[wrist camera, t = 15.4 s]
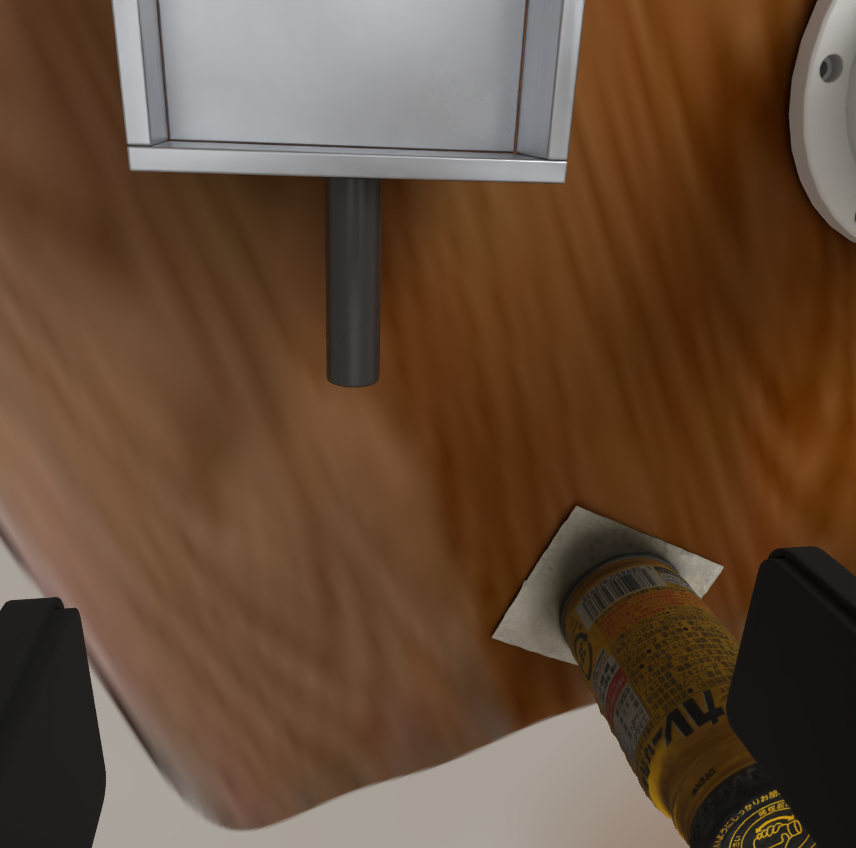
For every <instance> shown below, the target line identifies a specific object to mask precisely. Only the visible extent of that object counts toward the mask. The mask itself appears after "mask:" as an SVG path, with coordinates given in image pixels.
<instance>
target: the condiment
mask: <svg viewBox="0 0 856 848" xmlns="http://www.w3.org/2000/svg"><path fill="white" fill-rule="evenodd" d="M723 568H724V567H723V566H721V565H718V564H716V563H714V562H711V561H709V560H707V559H704V558H702V557H700V556H698V555H695V554H693V553H690V552H687V551H685V550H683V549H681V548H679V547H676V546H674V545H672V544H669V543H666V542H664V541H662V540H659V539H656V538H654V537H652V536H649V535H646V534H643V533H640V532H638V531H635V530H634V529H632V528H629V527H627V526H624V525H622V524H620V523H618V522H615V521H613V520H610V519H608V518H605V517H602V516H599V515H596V514H594V513H592V512H590V511H587V510H585V509H583V508H580V507H578V506H576V507H575V509H574V510H573V512H572V513H571V515H570V516H569V518H568V519H567V521H566V522H564V524H563V525H562V526H561V528H560V530H559V531H558V533H557V534H556V536H555V537H554V539H553V540H552V542H551V544H550V545H549V547H548V549H547V550H546V551H545V552H544V554H543V555H542V557H541V558H540V560H539V562H538V563H537V565H536V566H535V568H534V570H533V571H532V573H531V575H530V576H529V578H528V579H527V580H526V581H524V583H523V586H522V588H521V590H520V592H519V594H518V596H517V598H516V599H515V601H514V602H513V604H512V605H511V606H510V608H509V609H508V611H507V612H506V614H505V616H504V618H503V620H502V622H501V623H500V625H499V627H498V628H497V630H496V631H495V633H494V634H493V636H492V638H494V639H497V640H500V641H503V642H505V643H508V644H511V645H515V646H519V647H521V648H523V649H526V650H528V651H532V652H537V653H539V654H542V655H544V656H547V657H552V658H555V659H557V660H561V661H565V662H568V663H572V664H575V665H578V667H579V669H580V671H581V672H582V674H583V676H584V679H585V682H586V683H587V685H588V687H589V689H590V691H591V692H592V693H593V694H594V697H595V699H596V702H597V704H598V706H599V709H600V712H601V714H602V715H603V716H604V717H605V718H606V720H607V721H608V723H609V725H610V729H611V732H612V733H613V734H614V736H615V737H616V738H617V740H618V742H619V744H620V747H621V749H622V751H623V752H624V753H625V756H626V759H627V761H628V763H629V765H630V766H631V768H632V770H633V772H634V773H635V774H636V776H637V777H638V780H639V783H640V785H641V787H642V788H643V790H644V791H645V794H646V796H647V797H649V798H650V800H651V801H652V802H653V803H654V806H655V807H656V808H657V809H658V810H660V811H661V812H662V813H663V814H665V815H666V816H667V817H668V818H671V819H672V820H673V823H674V826H675V828H676V829H677V830H678V832H679V834H680V835H681V836H682V837H683V838H684V840H685V841H686V842H687V844H688V845H689V846H690V848H819V847H818V846H817V844H816V843H815V842H814V840H813V839H812V838H811V836H810V835H809V833H808V832H807V831H806V829H805V828H804V827H803V825H802V824H801V823H800V821H799V820H798V818H797V817H796V816H795V814H794V813H793V812H792V810H791V809H790V808H789V806H788V805H787V803H786V802H785V801H784V799H783V798H782V797H781V795H780V794H779V793H778V791H777V790H776V788H775V787H774V786H773V784H772V783H771V782H770V780H769V779H768V777H767V776H766V775H765V773H764V772H763V771H762V769H761V768H760V767H759V765H758V764H757V762H756V761H755V760H754V758H753V757H752V756H751V754H750V753H749V752H748V750H747V749H746V747H745V746H744V745H743V743H742V742H741V741H740V739H739V738H738V737H737V735H736V734H735V732H734V731H733V729H732V728H731V726H730V724H729V721H728V718H727V714H726V701H727V696H728V692H729V688H730V684H731V680H732V676H733V672H734V668H735V664H736V660H737V656H738V652H739V648H740V644H739V643H738V642H737V640H736V639H735V638H734V637H733V636H732V635H731V633H730V632H729V631H728V630H727V629H726V628H725V626H724V625H723V624H722V623H721V622H720V621H719V619H718V618H717V617H716V616H715V615H714V613H713V612H712V611H711V610H710V609H709V608H708V606H707V605H706V604H705V603H704V602H703V601H702V600H701V598H702V597H703V595H704V594H706V592H707V591H708V589H709V588H710V586H711V585H712V584H713V582H714V581H715V580H716V578H717V577H718V575H719V574H720V572H721V571H722V569H723Z"/></svg>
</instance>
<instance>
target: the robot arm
mask: <svg viewBox="0 0 856 848" xmlns="http://www.w3.org/2000/svg"><path fill="white" fill-rule="evenodd" d="M789 125H790V137H791V149H792V153H793V157H794V161H795V164H796V168H797V172H798V176H799V179H800V181H801V183H802V185H803V187H804V189H805V191H806V193H807V195H808V197H809V199H810V201H811V203H812V205H813V206H814V208H815V209H816V210H817V211H818V212H819V214H820V215H821V216H822V217H823V218H824V220H825V221H826V222H827V223H828V224H829V226H831V227H832V228H833V229H835V230H836V231H838V232H839V233H840V234H842V235H843V236H844V237H846V238H847V239H849V240H850V241H852V242H854V243H856V0H818V1H817V2H816V5H815V7H814V10H813V12H812V15H811V17H810V20H809V22H808V25H807V27H806V30H805V32H804V35H803V37H802V39H801V43H800V47H799V51H798V56H797V60H796V64H795V68H794V72H793V76H792V84H791V95H790V107H789ZM726 714H727V718H728V721H729V724H730V726H731V728H732V729H733V731H734V732H735V734H736V735H737V737H738V738H739V739H740V741H741V742H742V743H743V745H744V746H745V747H746V749H747V750H748V752H749V753H750V754H751V756H752V757H753V758H754V760H755V761H756V762H757V764H758V765H759V767H760V768H761V769H762V771H763V772H764V773H765V775H766V776H767V777H768V779H769V780H770V782H771V783H772V784H773V786H774V787H775V788H776V790H777V791H778V793H779V794H780V795H781V797H782V798H783V799H784V801H785V802H786V803H787V805H788V806H789V808H790V809H791V810H792V812H793V813H794V814H795V816H796V817H797V818H798V820H799V821H800V823H801V824H802V825H803V827H804V828H805V829H806V831H807V832H808V833H809V835H810V836H811V838H812V839H813V840H814V842H815V843H816V844H817V846H818V847H819V848H856V576H854V575H853V574H852V573H851V572H849V571H848V570H847V569H846V568H844V567H843V566H842V565H841V564H839V563H838V562H837V561H836V560H834V559H833V558H832V557H831V556H830V555H828V554H827V553H826V552H825V551H823V550H822V549H820V548H818V547H813V546H808V547H793V548H779V549H776V550H774V551H773V552H772V553H771V554H770V555H769V557H768V559H767V560H764V561H763V562H762V563H761V565H760V567H759V570H758V574H757V578H756V582H755V586H754V591H753V595H752V599H751V603H750V607H749V611H748V615H747V619H746V623H745V627H744V631H743V635H742V639H741V644H740V648H739V652H738V656H737V660H736V664H735V668H734V672H733V676H732V680H731V684H730V688H729V692H728V696H727V701H726ZM105 787H106V771H105V764H104V758H103V751H102V745H101V739H100V733H99V728H98V721H97V715H96V709H95V703H94V696H93V690H92V685H91V678H90V672H89V666H88V660H87V654H86V648H85V642H84V635H83V629H82V623H81V618H80V613H79V611H78V609H76V608H66V609H64V605H63V603H62V601H61V599H60V598H58V597H52V598H38V599H24V600H10V601H8V602H6V603H5V604H4V606H3V607H2V609H1V610H0V848H92V844H93V841H94V837H95V833H96V829H97V825H98V821H99V817H100V813H101V810H102V805H103V801H104V796H105Z"/></svg>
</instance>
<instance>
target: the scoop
mask: <svg viewBox="0 0 856 848" xmlns="http://www.w3.org/2000/svg"><path fill="white" fill-rule="evenodd" d="M157 3H158V11H157ZM584 5H585V0H528V12H527V24H526V36H525V48H524V60H523V72H522V84H521V96H520V108H519V120H518V132H517V144H516V153H518V154H512V153H514V151H515V139H516V127H517V115H518V103H519V91H520V79H521V67H522V54H523V42H524V30H525V18H526V6H527V0H111V6H112V15H113V24H114V34H115V43H116V52H117V62H118V71H119V80H120V90H121V99H122V108H123V118H124V127H125V136H126V143H127V145H129V146H127V155H128V164H129V169H130V171H132V172H165V173H200V174H234V175H268V176H303V177H325V266H326V359H327V379H328V381H329V382H330V383H332V384H335V385H338V386H343V387H364V386H369V385H372V384H374V383H376V382H377V381H378V379H379V364H380V309H381V255H382V200H383V179H405V180H440V181H474V182H508V183H542V184H564V183H565V180H566V171H567V161H565V160H567V159H568V152H569V143H570V134H571V125H572V116H573V106H574V97H575V88H576V79H577V70H578V60H579V51H580V42H581V33H582V24H583V15H584ZM158 14H159V23H158ZM159 26H160V34H159ZM160 38H161V46H160ZM161 49H162V57H161ZM162 61H163V69H162ZM163 73H164V81H163ZM164 84H165V92H164ZM165 96H166V104H165ZM166 107H167V115H166ZM167 119H168V127H167ZM168 131H169V139H170V140H171V141H167V140H168ZM184 141H190V142H184ZM211 142H218V143H211ZM238 143H245V144H238ZM266 144H272V145H266ZM293 145H300V146H293ZM320 146H327V147H320ZM348 147H354V148H348ZM375 148H382V149H375ZM403 149H409V150H403ZM430 150H436V151H430ZM457 151H463V152H457ZM485 152H491V153H485Z"/></svg>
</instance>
